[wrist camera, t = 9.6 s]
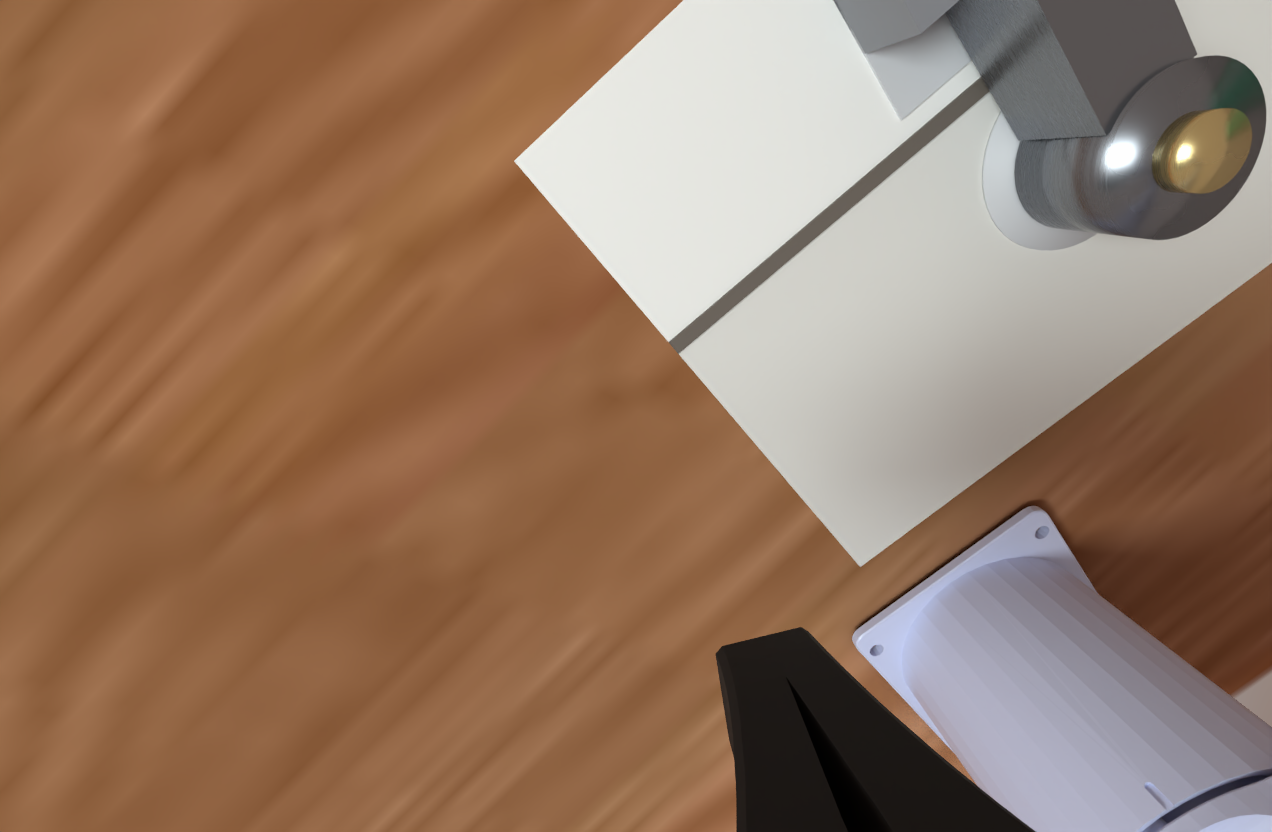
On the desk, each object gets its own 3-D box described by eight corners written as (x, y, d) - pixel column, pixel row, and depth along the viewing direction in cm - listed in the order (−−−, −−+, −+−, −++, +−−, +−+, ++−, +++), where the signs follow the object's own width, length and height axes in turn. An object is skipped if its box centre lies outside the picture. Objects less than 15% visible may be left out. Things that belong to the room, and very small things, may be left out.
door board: (1521, 45, 18) (1731, 18, 15) (846, 549, 21) (899, 616, 18) (1435, -709, 12) (1756, -1026, 9) (515, 161, 15) (508, 159, 12)
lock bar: (1168, 157, 16) (1319, 155, 13) (1053, 257, 17) (1171, 278, 13) (963, -274, 12) (1110, -428, 9) (823, -123, 13) (914, -219, 10)
